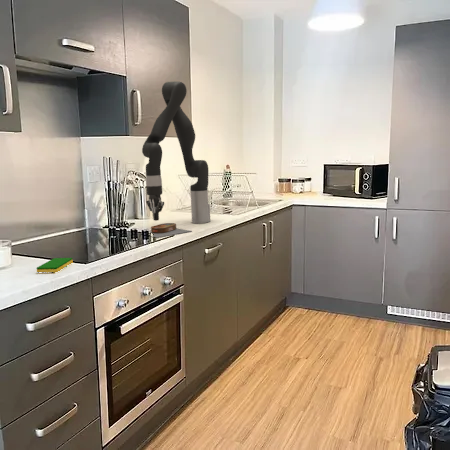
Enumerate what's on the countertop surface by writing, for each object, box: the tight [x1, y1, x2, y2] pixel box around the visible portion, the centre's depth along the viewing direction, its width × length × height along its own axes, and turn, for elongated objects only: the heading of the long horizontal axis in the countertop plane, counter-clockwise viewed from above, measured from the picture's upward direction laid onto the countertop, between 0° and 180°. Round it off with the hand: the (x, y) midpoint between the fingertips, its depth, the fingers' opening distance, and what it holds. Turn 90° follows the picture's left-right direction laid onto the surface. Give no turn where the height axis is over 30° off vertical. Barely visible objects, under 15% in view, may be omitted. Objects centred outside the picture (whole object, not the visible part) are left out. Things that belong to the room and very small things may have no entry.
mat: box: [150, 227, 192, 239], centre depth 224 cm, size 20×14×1 cm
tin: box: [150, 222, 177, 233], centre depth 228 cm, size 15×3×8 cm
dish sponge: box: [36, 257, 74, 273], centre depth 163 cm, size 7×14×2 cm, turn 175°
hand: (156, 220), depth 229 cm, fingers closed
